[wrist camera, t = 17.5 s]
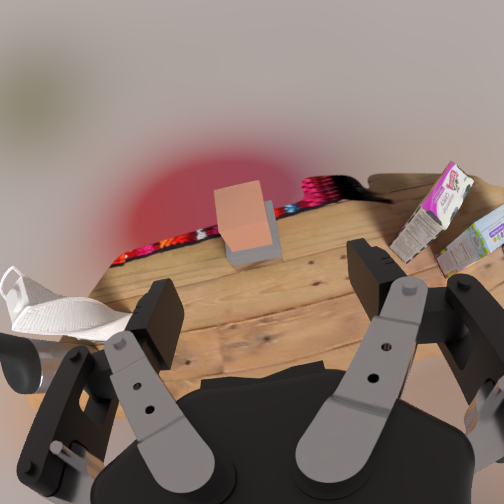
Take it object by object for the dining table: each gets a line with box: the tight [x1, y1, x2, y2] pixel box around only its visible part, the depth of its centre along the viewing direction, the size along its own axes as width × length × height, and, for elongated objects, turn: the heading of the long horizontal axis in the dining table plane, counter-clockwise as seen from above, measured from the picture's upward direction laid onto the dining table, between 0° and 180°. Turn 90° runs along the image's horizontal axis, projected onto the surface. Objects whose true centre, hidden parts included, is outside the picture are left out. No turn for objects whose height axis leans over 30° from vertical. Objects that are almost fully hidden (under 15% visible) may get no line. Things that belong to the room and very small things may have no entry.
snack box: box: [435, 204, 504, 279], centre depth 36 cm, size 21×6×15 cm, turn 112°
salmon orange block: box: [214, 180, 273, 252], centre depth 39 cm, size 6×6×8 cm
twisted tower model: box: [0, 266, 133, 344], centre depth 36 cm, size 8×8×28 cm
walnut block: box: [233, 257, 283, 272], centre depth 48 cm, size 8×8×4 cm
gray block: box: [225, 201, 283, 266], centre depth 45 cm, size 8×8×4 cm
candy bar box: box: [389, 161, 474, 264], centre depth 38 cm, size 11×5×16 cm, turn 134°
